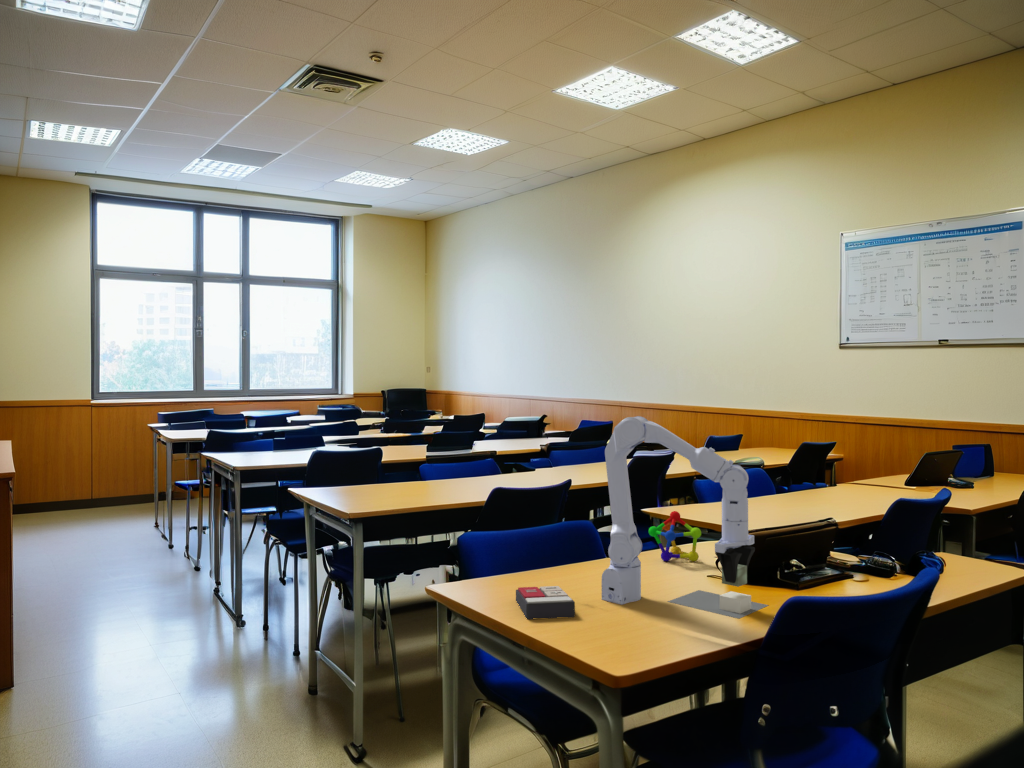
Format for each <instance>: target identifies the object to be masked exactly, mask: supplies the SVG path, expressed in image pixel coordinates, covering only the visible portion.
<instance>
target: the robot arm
mask: <svg viewBox="0 0 1024 768" xmlns="http://www.w3.org/2000/svg"><path fill="white" fill-rule="evenodd" d="M643 442H644V443H648V444H650V443H651V444H659V445H662V446H663V447H665V448H667V449H669V450H671V451H673V452H674V453H676V454H677V455H679V456H682V457H683V458H685V459H686V460H688V461H689V463H690V467H691V469H693V470H694V471H696V472H697V473H700V474H701V475H703V476H704V477H706V478H707V479H709V480H711V481H712V482H714V483H719V485H720V487H721V488H722V498H721V538H720V539H719V540H718V542H715V543H714V553H715V556H716V558H717V559H718V561H719V563H720V565H721V570H722V569H723V573H724V577H725V581H726V582H731V583H735V581H736V577H737V567H738V564H741V565H746V566H747V570H749V569H748V568H749V566H750V565H749V564H750V562H751V558H752V556H753V555H754V553H755V551H756V547H754V546H752V545H754V544H755V535H753V534H749V500H748V495H749V494H748V493H749V492H748V488H747V487H748V484H749V474H748V472H747V471H746V469H744V468H743V466H741V465H740V464H734V463H735V462H734V461H733V460H732V459H726V458H725V457H723V456H721V455H720V454H718V453H716V450H715V448H712V446H711V447H709V448H708V447H706V446H702V447H699V448H698V447H697V448H696V447H695V446H693V445H692V444H691V443H688V442H687V441H686V440H684V439H682V438H681V437H679V436H678V435H676V434H675V433H673V432H672V431H670V430H668V429H667V428H665V427H663V426H662V425H660V424H658V423H656V422H654V421H652V420H648V419H647V418H645V417H644V416H640V415H637V416H628V417H625V418H623V419H622V420H621V421H619V423H617V424H616V425H615V426H614V428H613V431H612V434H611V436H610V438H609V440H608V442H607V444H606V447H605V449H604V457H605V469H606V477H607V485H608V487H607V488H608V495H609V496H608V497H609V504H610V515H611V522H612V523H611V525H612V526H611V530H610V544H609V546H608V549H607V550H608V551H607V553H608V554H607V555H608V558H609V559H610V560H609V566H608V568H606V569H605V570H604V571H603V572H602V574H601V600H602V601H606V602H610V603H613V604H617V605H622V606H623V605H625V604H628V603H633V602H637V601H641V599H642V588H641V587H642V577H641V576H642V570H641V569H642V566H641V564H642V562H641V560H640V558H639V556H640V554H641V552H642V550H643V542H642V540H641V538H640V537H639V535H638V531H637V526H636V525H635V523H634V514H633V506H632V505H633V504H632V497H631V496H632V494H631V488H630V479H629V470H628V460H627V456H629V454H630V453H631V452H632V451H633V450H634V449H635V447H637V446H638V445H640V444H642V443H643Z"/></svg>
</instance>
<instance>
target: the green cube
mask: <svg viewBox="0 0 1024 768" xmlns="http://www.w3.org/2000/svg"><path fill="white" fill-rule="evenodd" d="M721 584H722V585H728V586H733V587H741V586H744V585H746V584H748V569H747V566H746V565H741V564H738V567H737V577H736V581H735V583H731V582H726V581H725V577H724V573H723V569H722V568H721Z"/></svg>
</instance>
